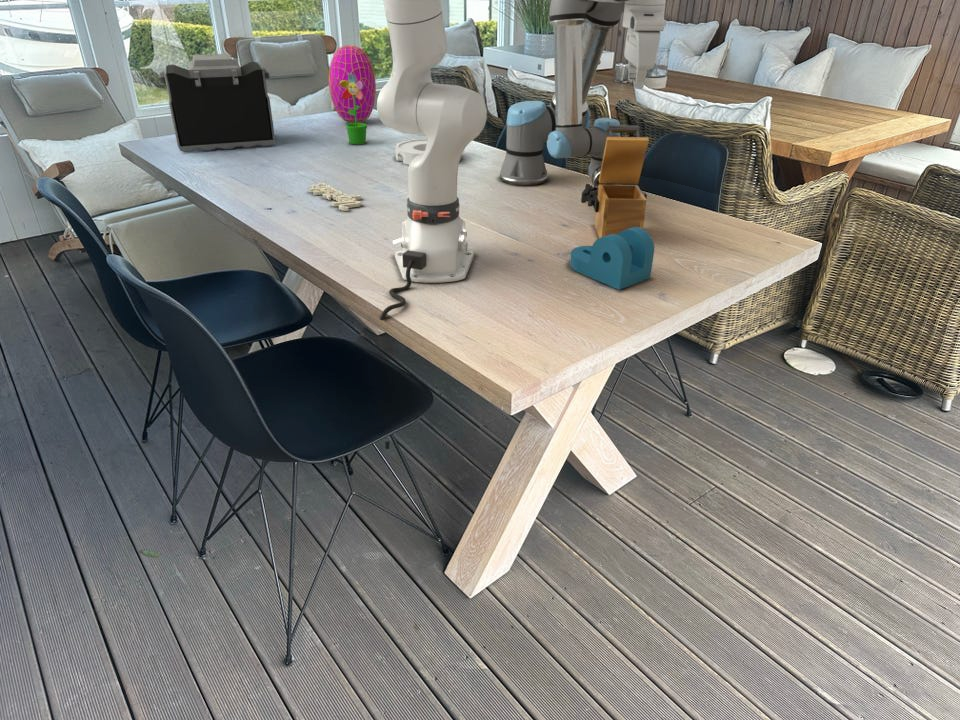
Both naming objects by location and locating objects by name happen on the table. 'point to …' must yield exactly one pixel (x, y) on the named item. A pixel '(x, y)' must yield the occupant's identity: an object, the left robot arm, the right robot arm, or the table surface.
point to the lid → (623, 156)
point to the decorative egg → (361, 68)
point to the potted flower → (354, 129)
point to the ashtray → (410, 150)
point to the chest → (619, 209)
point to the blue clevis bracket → (616, 258)
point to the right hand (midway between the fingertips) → (618, 207)
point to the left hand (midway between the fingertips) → (635, 85)
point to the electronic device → (219, 104)
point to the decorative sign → (336, 196)
